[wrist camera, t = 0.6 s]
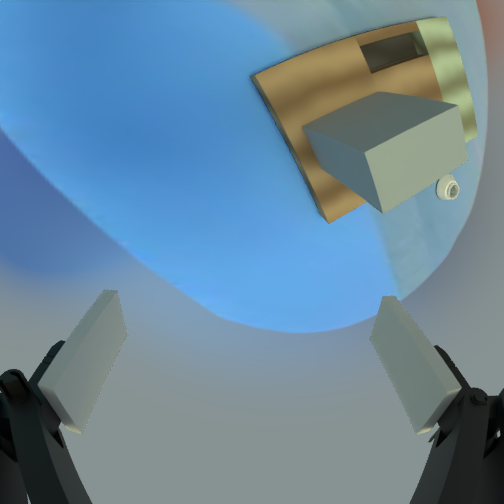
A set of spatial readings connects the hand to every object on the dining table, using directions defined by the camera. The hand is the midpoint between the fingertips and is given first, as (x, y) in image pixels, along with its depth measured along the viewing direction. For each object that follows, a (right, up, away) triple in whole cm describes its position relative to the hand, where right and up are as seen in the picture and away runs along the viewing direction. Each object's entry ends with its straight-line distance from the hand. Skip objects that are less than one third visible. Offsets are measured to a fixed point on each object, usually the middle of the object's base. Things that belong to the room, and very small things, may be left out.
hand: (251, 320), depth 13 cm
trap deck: (+20, +25, +20) cm, 38 cm away
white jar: (+35, +16, +30) cm, 49 cm away
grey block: (+12, +19, +19) cm, 29 cm away
